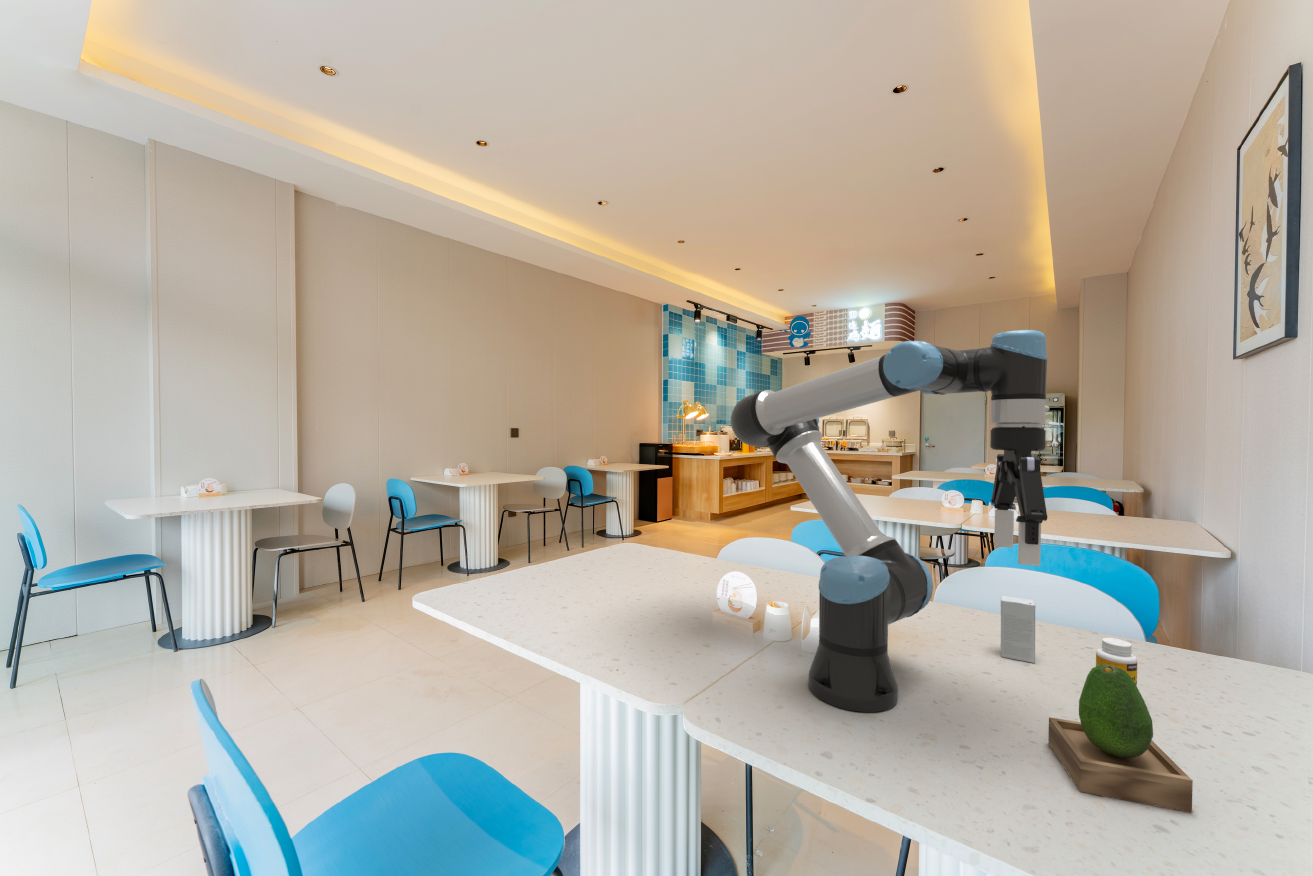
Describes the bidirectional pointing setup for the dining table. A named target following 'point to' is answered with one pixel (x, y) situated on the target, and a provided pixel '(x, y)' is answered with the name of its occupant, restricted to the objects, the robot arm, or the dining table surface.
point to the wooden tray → (1120, 770)
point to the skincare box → (1018, 629)
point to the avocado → (1115, 713)
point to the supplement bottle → (1117, 656)
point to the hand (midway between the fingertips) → (1015, 555)
